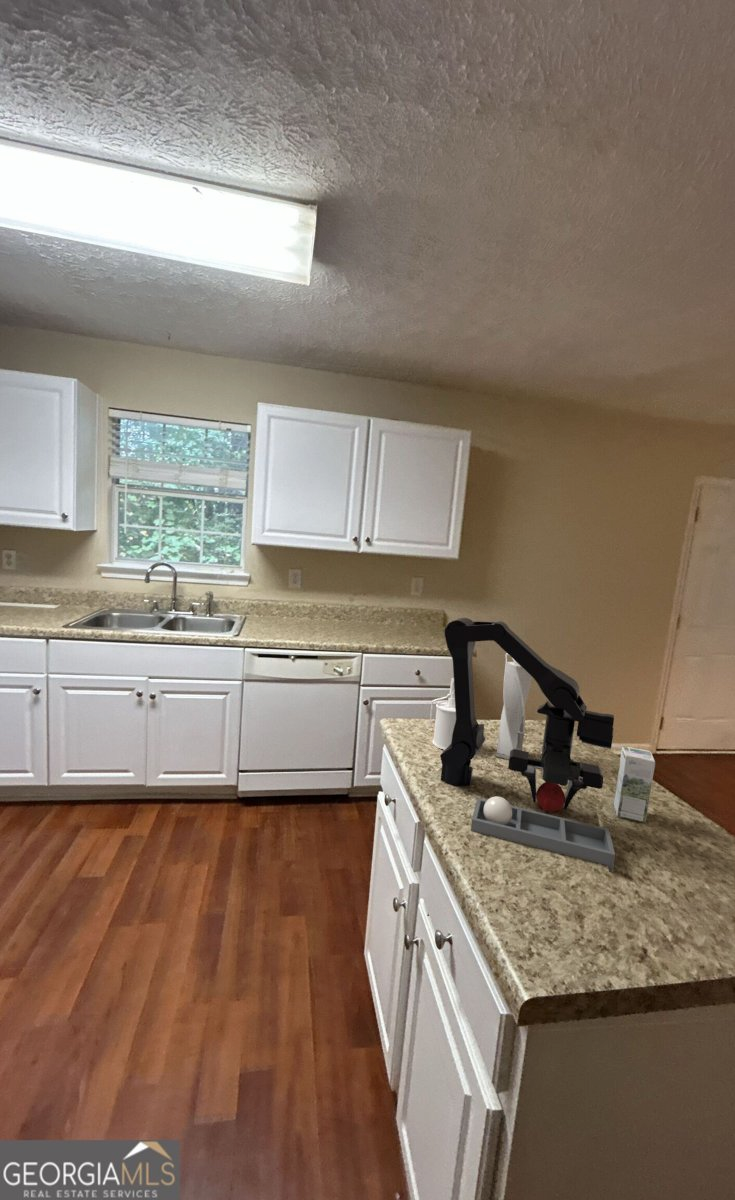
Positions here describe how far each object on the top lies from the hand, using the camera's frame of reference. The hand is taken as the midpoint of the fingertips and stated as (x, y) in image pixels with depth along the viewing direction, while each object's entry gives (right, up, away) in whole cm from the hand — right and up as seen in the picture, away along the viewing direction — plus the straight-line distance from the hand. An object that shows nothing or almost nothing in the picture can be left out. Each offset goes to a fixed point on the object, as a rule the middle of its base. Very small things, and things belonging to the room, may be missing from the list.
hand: (549, 805), depth 109 cm
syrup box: (+18, -3, +2) cm, 19 cm away
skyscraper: (0, +2, +30) cm, 30 cm away
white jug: (-17, +3, +33) cm, 38 cm away
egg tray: (-6, -3, -10) cm, 12 cm away
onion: (0, -2, 0) cm, 2 cm away
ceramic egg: (-14, -1, -8) cm, 16 cm away
